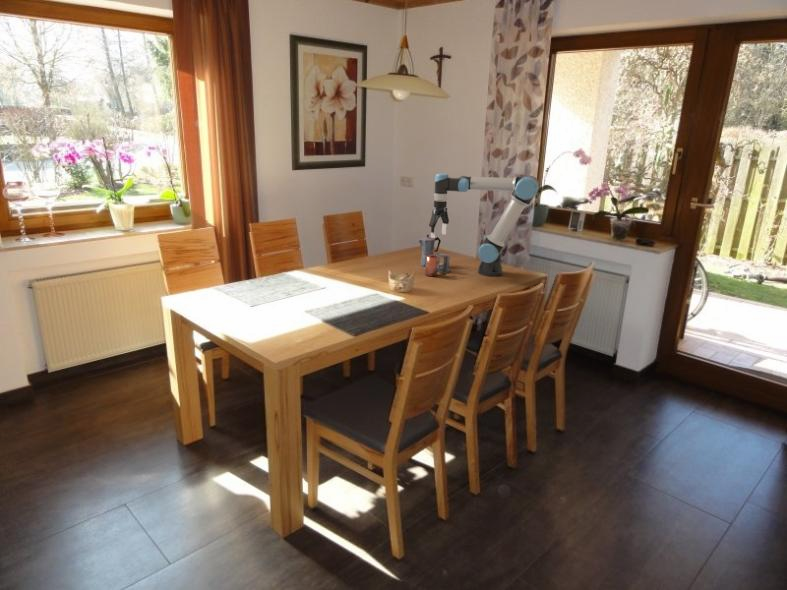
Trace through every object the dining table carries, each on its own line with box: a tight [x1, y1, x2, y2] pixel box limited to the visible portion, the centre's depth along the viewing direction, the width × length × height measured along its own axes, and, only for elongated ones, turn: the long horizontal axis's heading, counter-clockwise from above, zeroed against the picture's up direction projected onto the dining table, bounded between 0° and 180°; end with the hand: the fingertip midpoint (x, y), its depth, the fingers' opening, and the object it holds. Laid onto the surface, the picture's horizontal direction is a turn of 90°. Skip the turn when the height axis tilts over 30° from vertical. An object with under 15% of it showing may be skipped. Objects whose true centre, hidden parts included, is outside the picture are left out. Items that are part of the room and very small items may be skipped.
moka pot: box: [417, 234, 442, 268], centre depth 351 cm, size 10×15×20 cm, turn 115°
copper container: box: [425, 253, 444, 277], centre depth 335 cm, size 7×21×12 cm, turn 148°
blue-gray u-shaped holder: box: [434, 252, 451, 274], centre depth 340 cm, size 10×6×11 cm, turn 58°
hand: (438, 236), depth 332 cm, fingers open, 13 cm apart
